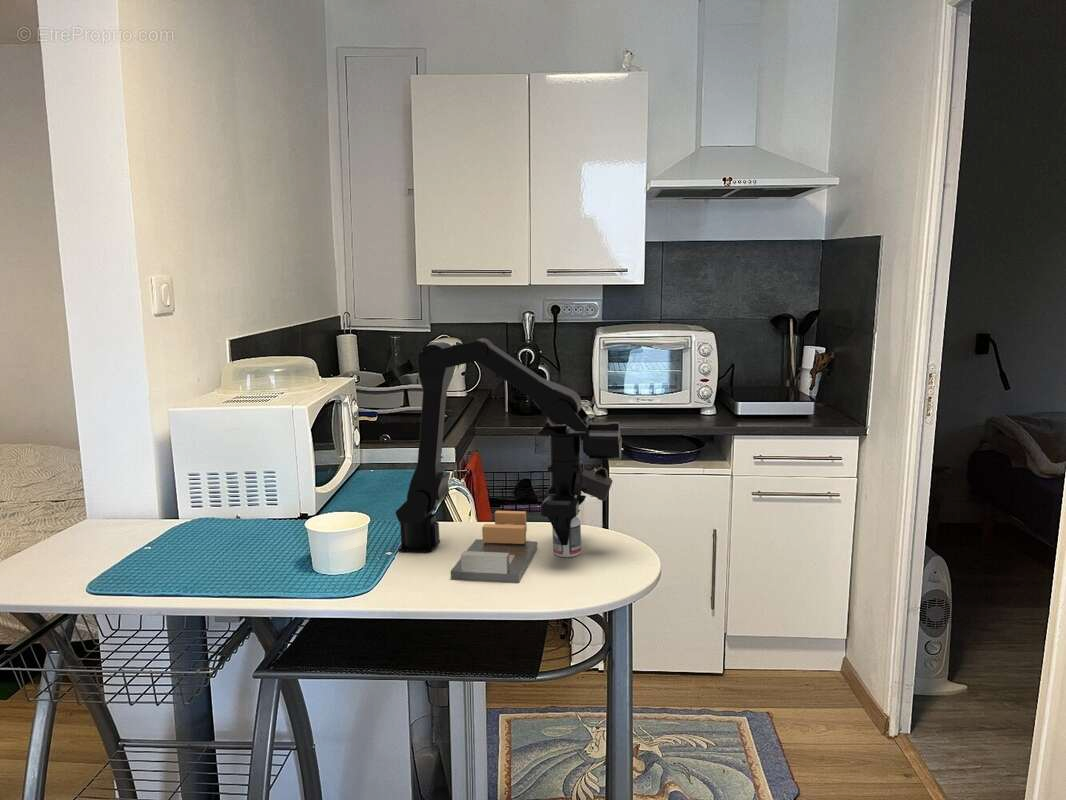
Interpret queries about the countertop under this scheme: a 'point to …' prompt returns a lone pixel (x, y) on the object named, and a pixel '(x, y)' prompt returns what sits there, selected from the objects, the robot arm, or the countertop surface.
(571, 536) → the pill bottle
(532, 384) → the robot arm
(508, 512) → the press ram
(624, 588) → the countertop surface
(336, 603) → the countertop surface
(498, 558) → the silver frame
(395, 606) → the countertop surface
